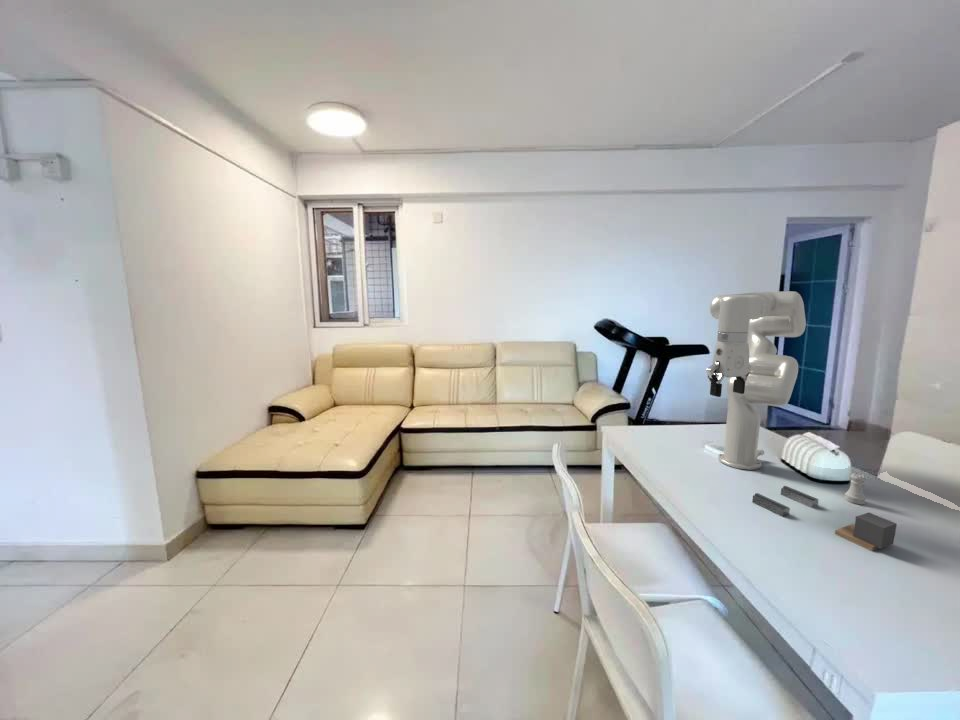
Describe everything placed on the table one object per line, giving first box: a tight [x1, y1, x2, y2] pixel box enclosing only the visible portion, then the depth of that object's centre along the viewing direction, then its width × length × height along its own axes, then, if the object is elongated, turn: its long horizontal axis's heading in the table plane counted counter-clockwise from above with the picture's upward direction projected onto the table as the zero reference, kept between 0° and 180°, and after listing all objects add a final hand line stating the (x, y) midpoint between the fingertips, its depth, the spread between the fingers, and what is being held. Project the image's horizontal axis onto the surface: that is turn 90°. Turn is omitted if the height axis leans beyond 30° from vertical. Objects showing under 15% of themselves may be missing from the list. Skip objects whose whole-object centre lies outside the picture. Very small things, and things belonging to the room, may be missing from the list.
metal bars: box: [752, 485, 819, 517], centre depth 108 cm, size 14×8×2 cm, turn 110°
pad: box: [834, 523, 879, 552], centre depth 92 cm, size 7×7×1 cm
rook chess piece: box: [844, 472, 867, 506], centre depth 109 cm, size 4×4×8 cm
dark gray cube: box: [853, 512, 898, 549], centre depth 90 cm, size 5×5×5 cm
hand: (727, 394), depth 117 cm, fingers open, 9 cm apart
